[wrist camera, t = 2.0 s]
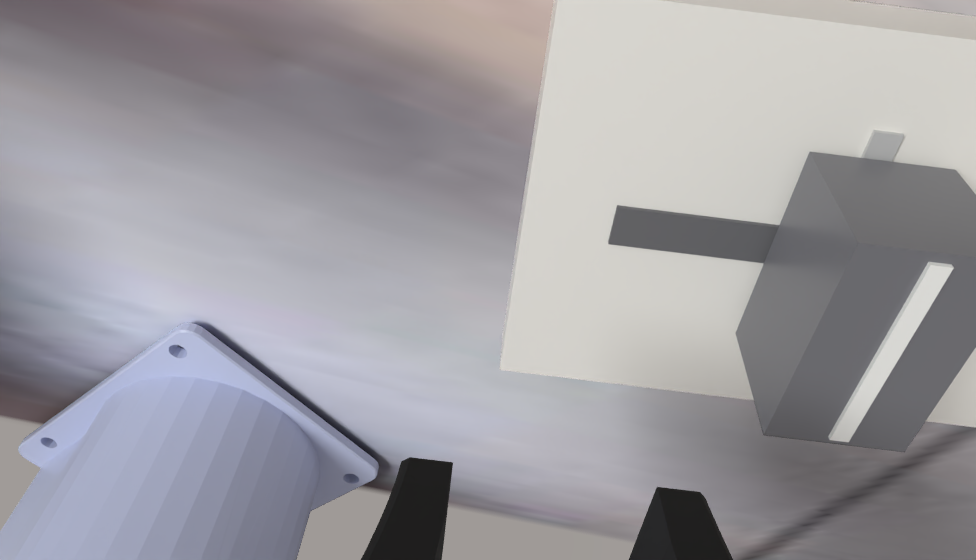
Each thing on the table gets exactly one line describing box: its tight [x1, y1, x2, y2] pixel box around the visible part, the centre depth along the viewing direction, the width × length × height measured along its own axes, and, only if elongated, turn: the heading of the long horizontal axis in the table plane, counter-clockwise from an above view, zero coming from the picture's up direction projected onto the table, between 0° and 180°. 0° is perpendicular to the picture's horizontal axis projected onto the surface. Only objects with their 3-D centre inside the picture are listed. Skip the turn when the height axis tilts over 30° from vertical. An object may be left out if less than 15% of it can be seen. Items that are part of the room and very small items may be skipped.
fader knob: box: [736, 152, 976, 452], centre depth 16 cm, size 3×5×3 cm, turn 174°
